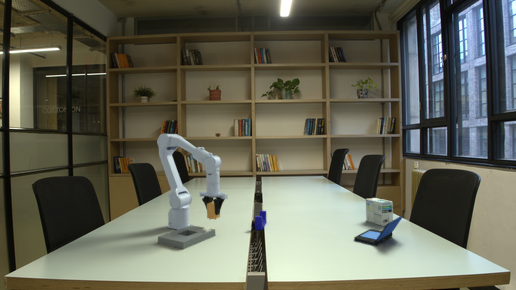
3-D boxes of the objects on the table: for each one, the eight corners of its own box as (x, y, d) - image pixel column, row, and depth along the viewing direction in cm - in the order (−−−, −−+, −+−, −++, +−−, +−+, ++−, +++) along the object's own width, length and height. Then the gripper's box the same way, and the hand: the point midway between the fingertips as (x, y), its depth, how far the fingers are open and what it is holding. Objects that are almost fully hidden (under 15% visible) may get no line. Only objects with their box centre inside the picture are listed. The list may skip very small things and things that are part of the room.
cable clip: (257, 222, 141) (257, 210, 141) (266, 223, 140) (266, 210, 140) (251, 230, 129) (251, 216, 129) (261, 230, 128) (261, 217, 128)
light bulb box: (393, 224, 133) (393, 201, 133) (382, 226, 131) (382, 202, 131) (376, 219, 143) (376, 197, 143) (365, 220, 141) (365, 198, 140)
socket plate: (157, 242, 114) (157, 234, 114) (190, 230, 129) (190, 222, 129) (183, 249, 106) (183, 239, 106) (215, 235, 122) (215, 227, 122)
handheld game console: (370, 232, 124) (370, 210, 124) (403, 238, 114) (403, 215, 114) (352, 241, 113) (352, 217, 113) (388, 249, 103) (387, 223, 103)
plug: (207, 219, 128) (206, 203, 128) (213, 217, 131) (212, 201, 131) (214, 220, 126) (213, 204, 126) (220, 218, 129) (219, 202, 129)
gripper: (194, 183, 129) (195, 213, 129) (220, 185, 121) (220, 217, 121) (205, 181, 135) (205, 210, 135) (230, 183, 127) (230, 214, 127)
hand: (213, 213), depth 129 cm, fingers closed on plug, 4 cm apart
